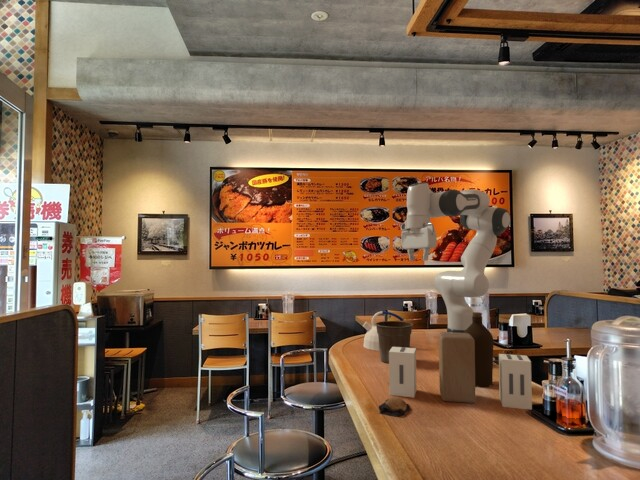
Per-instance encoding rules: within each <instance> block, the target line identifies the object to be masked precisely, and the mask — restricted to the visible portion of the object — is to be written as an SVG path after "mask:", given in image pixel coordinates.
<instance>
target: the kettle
mask: <svg viewBox="0 0 640 480" xmlns="http://www.w3.org/2000/svg"><path fill="white" fill-rule="evenodd" d="M379 315H389V316H392V317H394V318H396V319H397V320H398V321H403V322H404V318H402V317H401V316H399V315H397V314H396V313H394V312H391V311H385V310H382V311H377V312H376V313H375V314H373V316H372V318H371V324H370V323H369V322H368V321H365V322H364V323H363V325H362V327H363V328H364V329H365V330H366V333H365V335H364V337H363V338H364V339H363V348H365V349H367V350H369V351H378V352H380V348H379V338H378V333H377V327H376V325H375V323H376V318H377V317H378V316H379Z"/></svg>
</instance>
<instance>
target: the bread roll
mask: <svg viewBox="0 0 640 480" xmlns="http://www.w3.org/2000/svg"><path fill="white" fill-rule="evenodd" d="M378 409H379V410H378V415H384V416H389V417H393V418H404V417H405V415H406V414H407V413H408V412H409V411H410V410H411V406H410V404H409V403H407V402H406V401H405V400H403V399H402V398H400V397H394V396H393V397H391V398H387V399H386V400H385V402H383V403H382V404H380V405H379V406H378Z"/></svg>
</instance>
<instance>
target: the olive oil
mask: <svg viewBox="0 0 640 480" xmlns="http://www.w3.org/2000/svg"><path fill="white" fill-rule="evenodd" d="M472 314H473V316H472V324H471V325H470V326H469V327H468V328H467V329H466V330H465V331H464V333H468V334H470V335H471V336H472V337H473V339H474V341H475V387H478V388H480V387H482V388H486V387H492V386H493V380H494V379H493V376H494V375H493V374H494V373H493V371H494V369H493V368H494V365H493V364H494V361H493V357H494V345H495V342H494V336H493V334H492V333H491V331H490V330H489V329H488V328H487V327H486V326H485V325H484V323H483V316H482V315H483V313H482V312H479V311H477V312H476V311H474V312H473V313H472Z"/></svg>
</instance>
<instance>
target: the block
mask: <svg viewBox="0 0 640 480" xmlns="http://www.w3.org/2000/svg"><path fill="white" fill-rule="evenodd" d="M438 353H439V354H438V359H439V360H438V361H439V362H438V369H439V371H438V373H439V375H438V377H439V378H438V379H439V392H440V396H441V399H442V401H444V402H452V403H453V402H454V403H464V404H465V403H466V404H473V403H474V404H475V402H476V386H475V341H474V339H473V337H472V336H471V335H470V334H468V333H454V332H447V331H441V332H439V335H438Z"/></svg>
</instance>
